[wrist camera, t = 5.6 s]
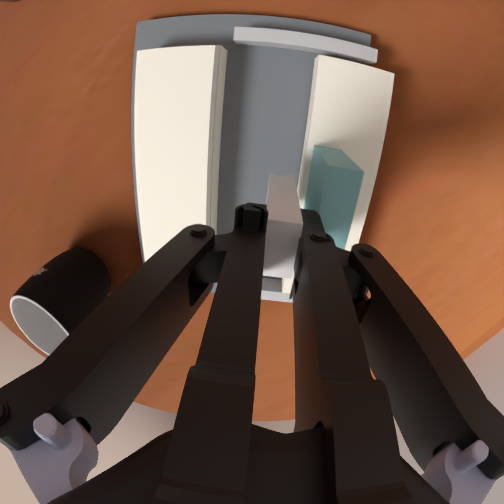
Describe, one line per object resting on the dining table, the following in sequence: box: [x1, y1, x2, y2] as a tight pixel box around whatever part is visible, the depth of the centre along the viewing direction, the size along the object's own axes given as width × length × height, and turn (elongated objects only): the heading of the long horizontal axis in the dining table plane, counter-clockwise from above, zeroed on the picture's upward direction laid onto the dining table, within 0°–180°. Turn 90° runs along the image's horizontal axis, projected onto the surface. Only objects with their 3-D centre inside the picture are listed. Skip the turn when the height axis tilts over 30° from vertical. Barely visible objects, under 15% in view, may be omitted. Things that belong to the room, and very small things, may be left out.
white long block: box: [282, 55, 395, 293], centre depth 17 cm, size 18×5×7 cm, turn 175°
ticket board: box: [131, 14, 378, 303], centre depth 20 cm, size 24×17×4 cm
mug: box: [10, 248, 110, 355], centre depth 25 cm, size 12×9×10 cm
